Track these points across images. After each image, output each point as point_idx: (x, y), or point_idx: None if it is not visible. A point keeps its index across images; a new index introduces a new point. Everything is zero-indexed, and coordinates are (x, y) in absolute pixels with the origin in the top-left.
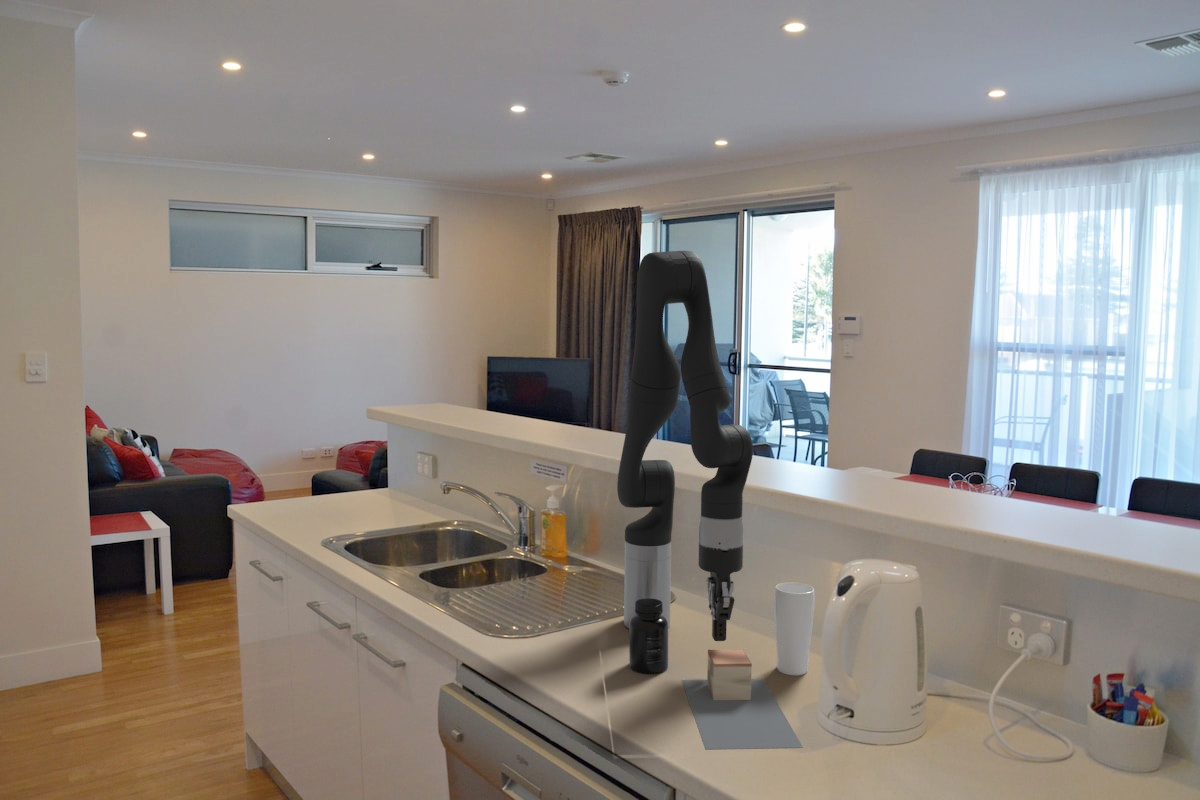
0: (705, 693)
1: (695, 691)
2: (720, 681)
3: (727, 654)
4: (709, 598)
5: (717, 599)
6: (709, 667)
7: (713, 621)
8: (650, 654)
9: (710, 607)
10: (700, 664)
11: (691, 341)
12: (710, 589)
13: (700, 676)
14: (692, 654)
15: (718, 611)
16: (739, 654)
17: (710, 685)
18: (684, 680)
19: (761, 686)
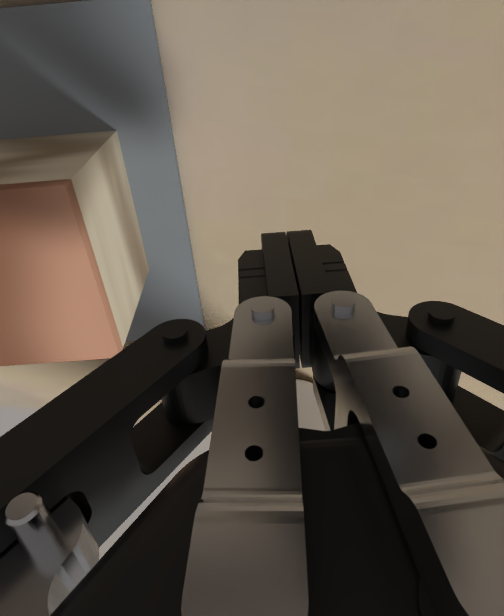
0: (17, 112)
1: (23, 63)
2: None
3: (24, 283)
4: (361, 382)
5: (22, 506)
6: (34, 163)
7: (283, 288)
8: None
9: (419, 317)
10: (372, 120)
11: None
12: (207, 529)
13: (234, 107)
14: (500, 89)
15: (54, 406)
16: (46, 335)
17: (26, 144)
18: (145, 12)
19: (140, 322)
